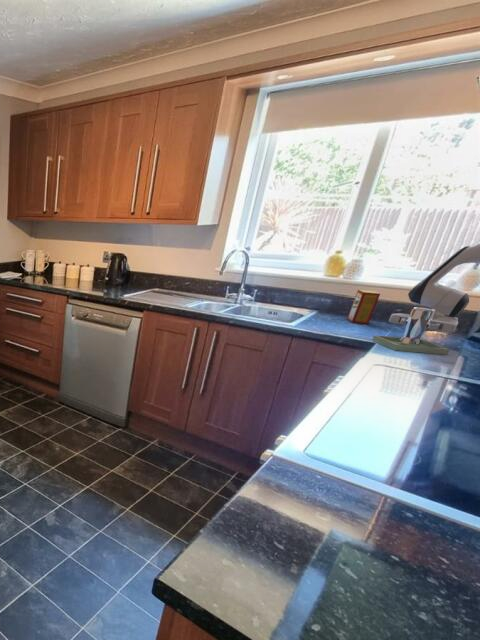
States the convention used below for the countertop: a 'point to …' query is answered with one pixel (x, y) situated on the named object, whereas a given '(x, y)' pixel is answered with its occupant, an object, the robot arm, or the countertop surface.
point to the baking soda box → (363, 306)
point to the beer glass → (417, 325)
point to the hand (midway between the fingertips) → (416, 324)
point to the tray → (422, 347)
